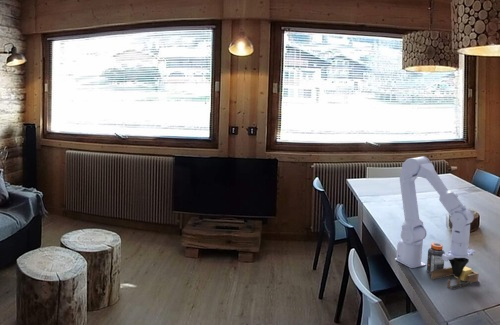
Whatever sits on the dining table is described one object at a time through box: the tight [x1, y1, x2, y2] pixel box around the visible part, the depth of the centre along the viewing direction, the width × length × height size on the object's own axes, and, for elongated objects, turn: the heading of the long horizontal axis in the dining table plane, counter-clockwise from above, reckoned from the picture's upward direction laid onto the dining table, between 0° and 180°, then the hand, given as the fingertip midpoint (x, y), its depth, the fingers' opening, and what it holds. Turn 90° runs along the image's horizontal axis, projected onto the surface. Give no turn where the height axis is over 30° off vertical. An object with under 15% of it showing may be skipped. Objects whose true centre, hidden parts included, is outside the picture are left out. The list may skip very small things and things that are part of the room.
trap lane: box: [430, 266, 480, 290], centre depth 144 cm, size 9×15×3 cm, turn 112°
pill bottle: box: [426, 242, 445, 274], centre depth 150 cm, size 6×6×11 cm
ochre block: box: [453, 265, 473, 282], centre depth 146 cm, size 4×4×4 cm
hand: (456, 275), depth 144 cm, fingers closed
